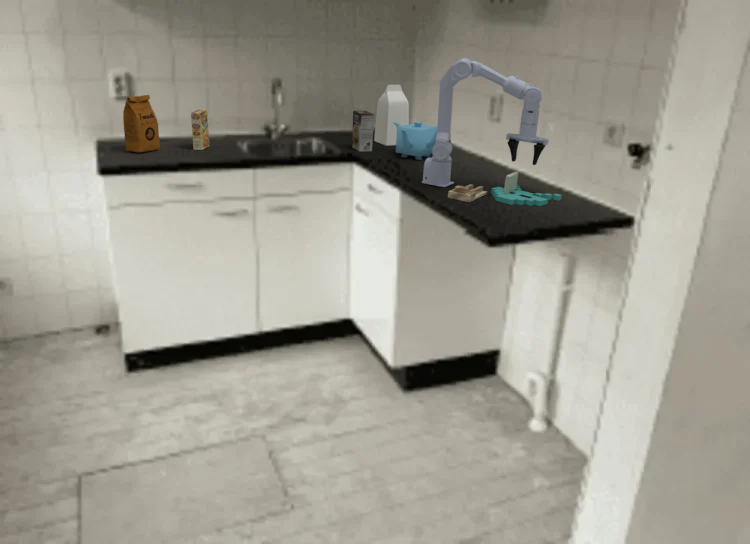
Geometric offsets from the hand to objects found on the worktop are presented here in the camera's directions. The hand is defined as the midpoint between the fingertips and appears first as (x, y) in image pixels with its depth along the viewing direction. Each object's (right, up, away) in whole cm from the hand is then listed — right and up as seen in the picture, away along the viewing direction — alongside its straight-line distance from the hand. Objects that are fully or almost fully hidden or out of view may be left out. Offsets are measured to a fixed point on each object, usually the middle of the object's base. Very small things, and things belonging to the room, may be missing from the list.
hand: (524, 162), depth 233 cm
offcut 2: (-23, -13, -8) cm, 27 cm away
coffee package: (-146, +11, +39) cm, 152 cm away
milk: (-44, +22, +78) cm, 93 cm away
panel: (-6, -10, -3) cm, 12 cm away
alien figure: (-2, -13, -3) cm, 14 cm away
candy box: (-125, +14, +48) cm, 135 cm away
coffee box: (-58, +16, +61) cm, 85 cm away
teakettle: (-35, +11, +51) cm, 63 cm away
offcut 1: (-23, -11, -9) cm, 27 cm away
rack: (-20, -12, -4) cm, 24 cm away
